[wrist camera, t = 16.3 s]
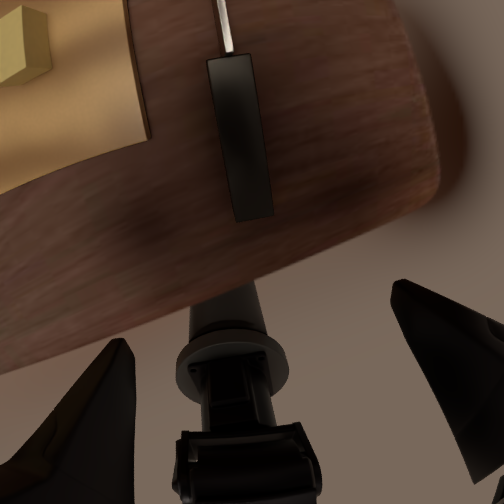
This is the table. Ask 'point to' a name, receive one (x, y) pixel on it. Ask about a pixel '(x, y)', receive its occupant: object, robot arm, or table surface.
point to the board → (73, 92)
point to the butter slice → (23, 46)
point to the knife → (239, 125)
